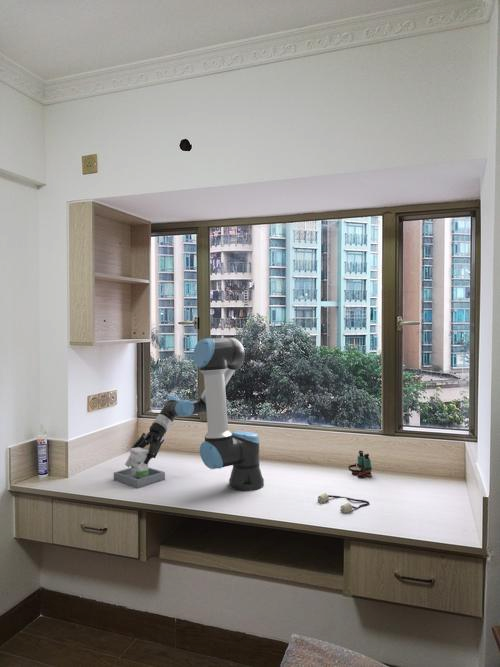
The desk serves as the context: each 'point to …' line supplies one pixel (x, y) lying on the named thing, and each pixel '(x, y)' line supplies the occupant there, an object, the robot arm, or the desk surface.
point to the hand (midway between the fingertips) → (133, 467)
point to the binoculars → (362, 466)
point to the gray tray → (138, 482)
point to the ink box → (138, 461)
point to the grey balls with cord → (345, 507)
